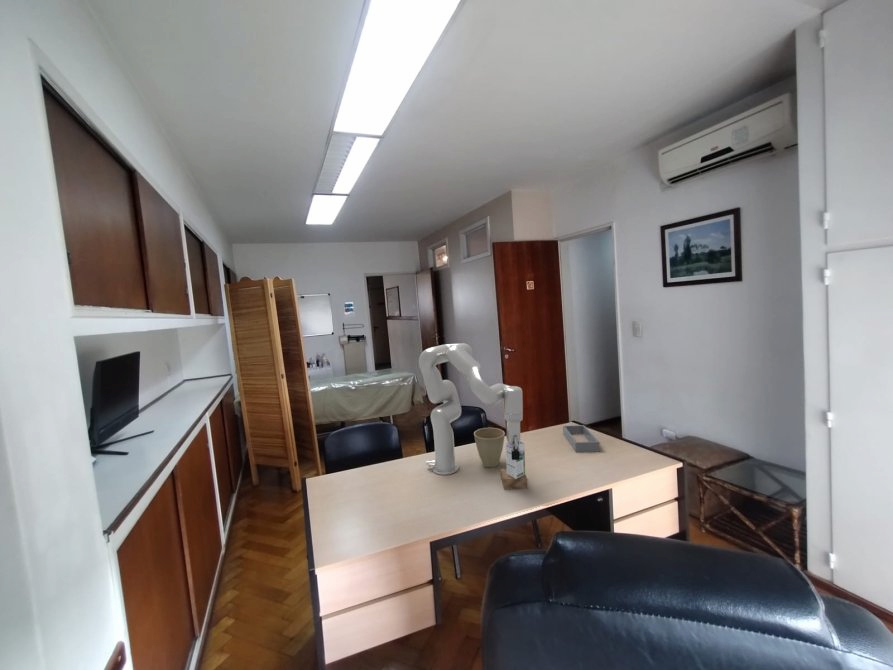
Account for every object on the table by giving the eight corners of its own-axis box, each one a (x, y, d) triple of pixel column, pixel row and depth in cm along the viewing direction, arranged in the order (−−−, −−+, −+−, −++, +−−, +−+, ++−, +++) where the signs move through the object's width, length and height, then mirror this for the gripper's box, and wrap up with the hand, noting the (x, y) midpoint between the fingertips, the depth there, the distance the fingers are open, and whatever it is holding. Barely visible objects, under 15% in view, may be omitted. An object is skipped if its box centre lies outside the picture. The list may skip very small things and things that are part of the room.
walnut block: (503, 490, 161) (503, 479, 160) (500, 479, 171) (500, 468, 170) (527, 489, 161) (527, 478, 160) (523, 478, 171) (522, 467, 170)
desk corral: (575, 452, 194) (575, 442, 194) (563, 434, 220) (562, 425, 219) (599, 451, 193) (599, 442, 193) (584, 433, 219) (584, 425, 219)
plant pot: (470, 468, 183) (469, 436, 182) (482, 456, 196) (480, 426, 195) (500, 473, 176) (498, 440, 175) (510, 460, 189) (508, 429, 188)
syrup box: (516, 479, 160) (515, 447, 157) (506, 473, 165) (505, 442, 162) (525, 474, 163) (525, 443, 161) (515, 469, 168) (514, 438, 165)
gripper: (502, 409, 169) (503, 446, 170) (506, 423, 151) (507, 463, 153) (519, 409, 168) (520, 446, 170) (525, 422, 151) (526, 463, 153)
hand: (514, 454), depth 162 cm, fingers open, 9 cm apart
